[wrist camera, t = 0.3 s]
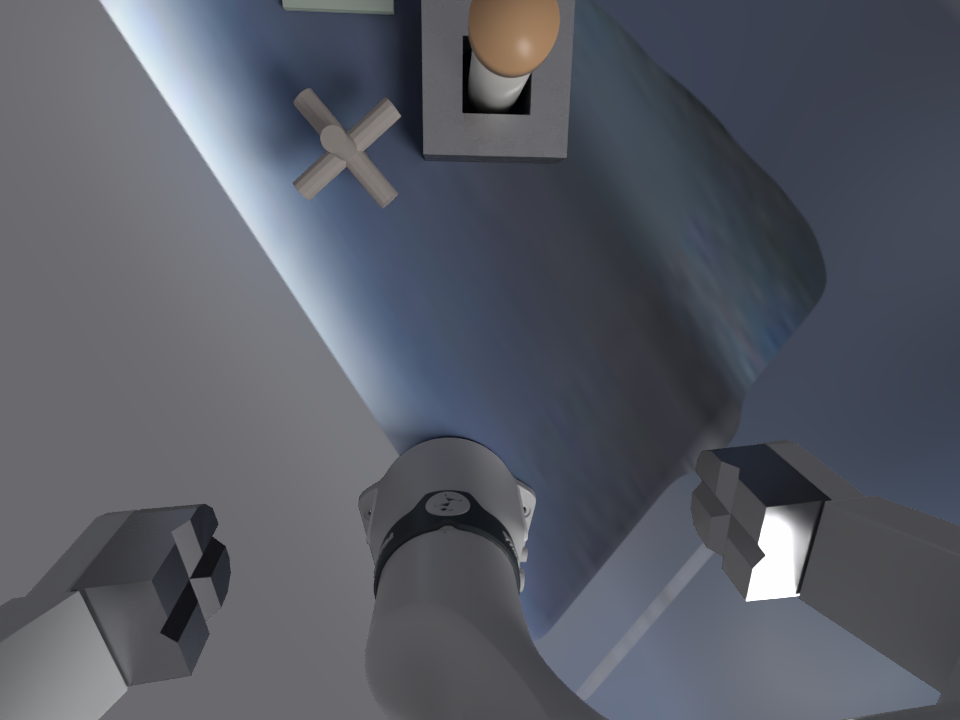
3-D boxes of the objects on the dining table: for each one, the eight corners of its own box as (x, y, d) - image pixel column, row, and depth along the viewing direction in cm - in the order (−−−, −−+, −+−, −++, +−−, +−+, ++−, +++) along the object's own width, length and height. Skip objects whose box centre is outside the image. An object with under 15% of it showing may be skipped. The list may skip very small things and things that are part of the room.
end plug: (522, 124, 45) (557, 72, 30) (462, 122, 44) (468, 69, 30) (524, 56, 43) (562, -32, 29) (462, 54, 43) (469, -36, 28)
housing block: (556, 164, 46) (566, 157, 42) (425, 160, 45) (423, 154, 41) (564, 15, 43) (575, -7, 39) (423, 9, 42) (421, -14, 38)
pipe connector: (277, 150, 44) (229, 127, 34) (361, 72, 43) (335, 25, 33) (356, 239, 46) (331, 241, 37) (437, 167, 45) (433, 150, 35)
